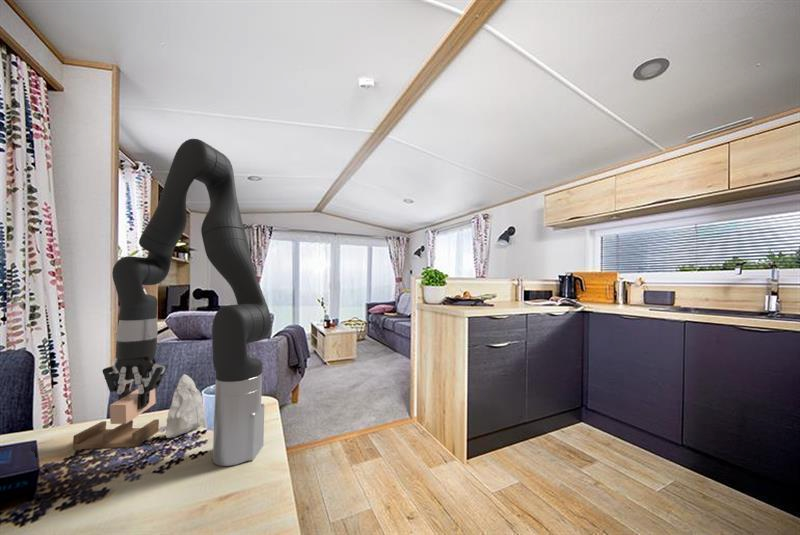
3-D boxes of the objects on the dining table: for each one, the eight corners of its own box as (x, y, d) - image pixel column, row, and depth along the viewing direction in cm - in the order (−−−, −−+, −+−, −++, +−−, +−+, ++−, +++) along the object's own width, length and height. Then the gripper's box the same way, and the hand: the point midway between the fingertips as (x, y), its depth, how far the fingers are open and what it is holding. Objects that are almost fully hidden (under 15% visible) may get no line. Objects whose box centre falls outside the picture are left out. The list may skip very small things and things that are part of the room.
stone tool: (168, 443, 69) (171, 379, 70) (162, 440, 70) (165, 377, 71) (206, 428, 76) (209, 370, 77) (200, 425, 78) (202, 368, 79)
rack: (158, 431, 75) (158, 419, 75) (136, 446, 68) (136, 433, 68) (101, 433, 73) (102, 421, 74) (72, 449, 66) (73, 435, 67)
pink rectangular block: (155, 403, 76) (155, 386, 76) (126, 423, 67) (125, 404, 67) (141, 403, 76) (141, 386, 76) (110, 424, 67) (109, 405, 67)
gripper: (177, 334, 77) (174, 401, 76) (120, 334, 75) (116, 402, 74) (156, 340, 69) (152, 414, 68) (92, 340, 68) (87, 415, 67)
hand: (133, 407), depth 71 cm, fingers closed on pink rectangular block, 3 cm apart
